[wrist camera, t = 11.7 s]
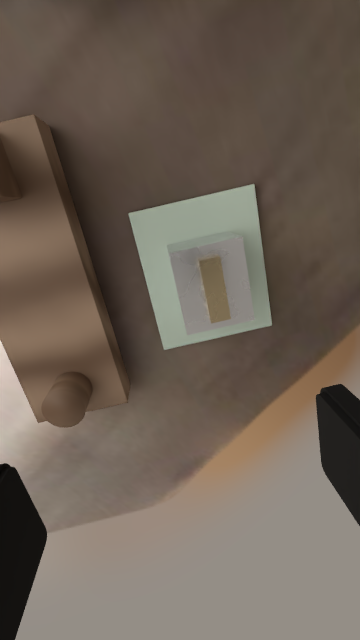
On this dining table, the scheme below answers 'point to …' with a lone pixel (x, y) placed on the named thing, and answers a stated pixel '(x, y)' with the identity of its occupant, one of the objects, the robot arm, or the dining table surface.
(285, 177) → the dining table surface
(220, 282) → the white block
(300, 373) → the dining table surface
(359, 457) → the robot arm
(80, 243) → the tan board with knob
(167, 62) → the dining table surface
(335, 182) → the dining table surface
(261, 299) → the mat
